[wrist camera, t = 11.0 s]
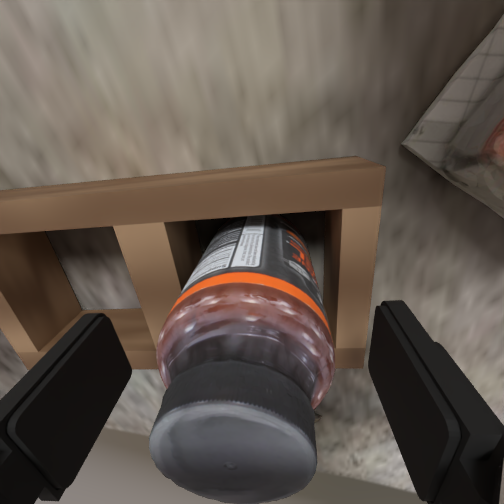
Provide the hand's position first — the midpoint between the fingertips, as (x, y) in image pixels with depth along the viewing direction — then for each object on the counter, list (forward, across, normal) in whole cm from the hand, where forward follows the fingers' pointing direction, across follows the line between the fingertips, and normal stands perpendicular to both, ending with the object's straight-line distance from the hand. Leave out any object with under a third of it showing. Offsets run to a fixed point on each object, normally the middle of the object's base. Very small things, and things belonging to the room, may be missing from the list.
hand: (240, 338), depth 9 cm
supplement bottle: (+8, 0, 0) cm, 8 cm away
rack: (+8, +4, 0) cm, 9 cm away
